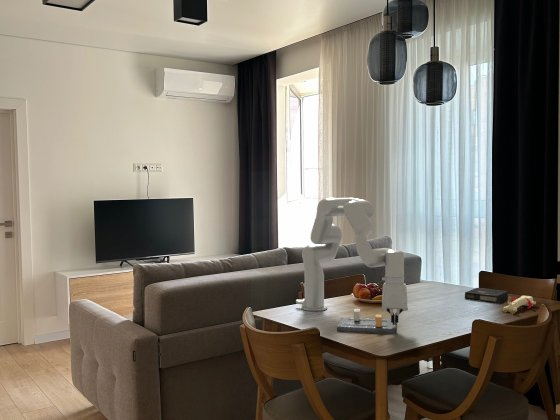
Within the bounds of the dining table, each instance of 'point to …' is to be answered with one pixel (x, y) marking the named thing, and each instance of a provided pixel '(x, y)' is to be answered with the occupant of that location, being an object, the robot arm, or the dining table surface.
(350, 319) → the console
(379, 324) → the orange fader
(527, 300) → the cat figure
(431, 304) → the dining table surface
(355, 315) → the cream fader
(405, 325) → the dining table surface
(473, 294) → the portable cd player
